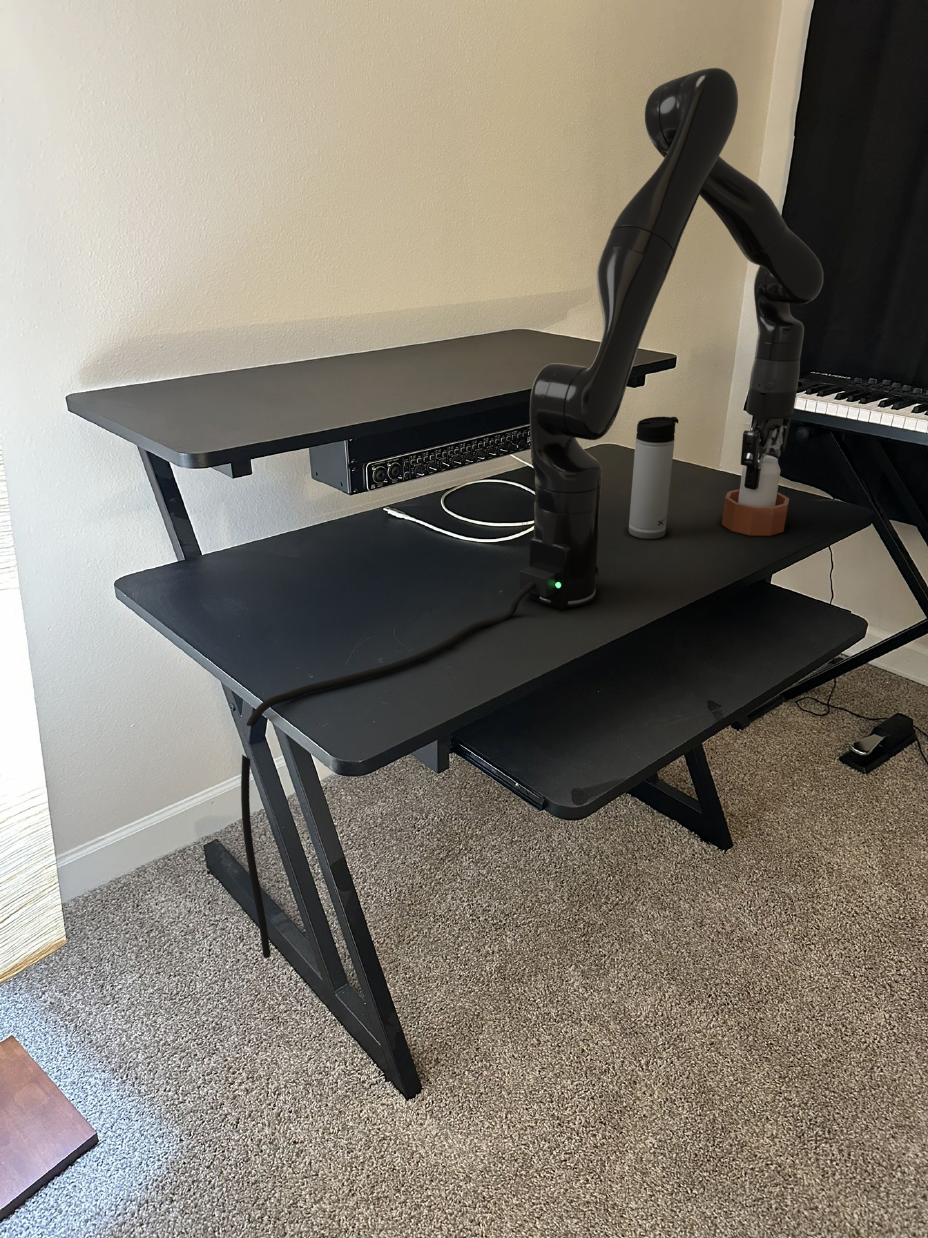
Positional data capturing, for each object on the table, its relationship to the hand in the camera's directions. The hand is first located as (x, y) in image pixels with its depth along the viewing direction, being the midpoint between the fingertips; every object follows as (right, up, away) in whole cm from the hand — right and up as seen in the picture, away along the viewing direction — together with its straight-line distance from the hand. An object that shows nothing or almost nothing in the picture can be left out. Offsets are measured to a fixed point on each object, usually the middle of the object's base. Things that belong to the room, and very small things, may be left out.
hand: (759, 483), depth 154 cm
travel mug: (-19, -9, +1) cm, 21 cm away
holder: (0, -7, +3) cm, 8 cm away
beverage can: (0, -7, +4) cm, 8 cm away
